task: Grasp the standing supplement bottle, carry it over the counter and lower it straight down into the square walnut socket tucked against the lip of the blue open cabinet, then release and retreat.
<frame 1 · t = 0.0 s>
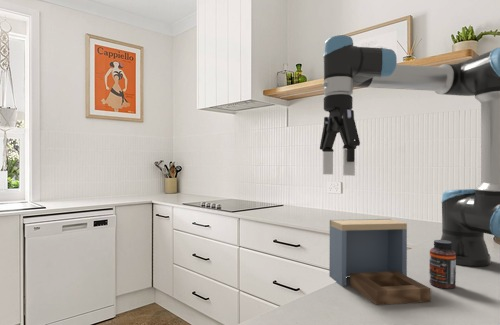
hand: (337, 175, 93), 28 cm above the countertop, fingers open, 13 cm apart
blue open cabinet: (367, 279, 93), on the countertop
supplement bottle: (442, 286, 89), on the countertop
socket: (387, 292, 83), on the countertop
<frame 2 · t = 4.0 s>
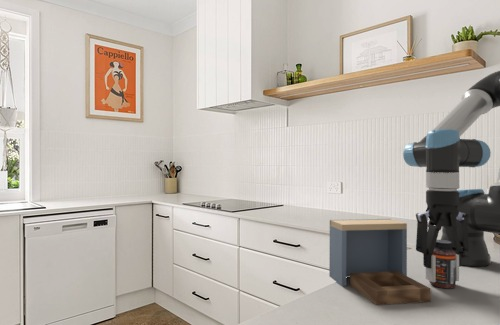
hand: (442, 279, 89), 1 cm above the countertop, fingers closed on supplement bottle, 6 cm apart
supplement bottle: (442, 286, 89), on the countertop, touching gripper
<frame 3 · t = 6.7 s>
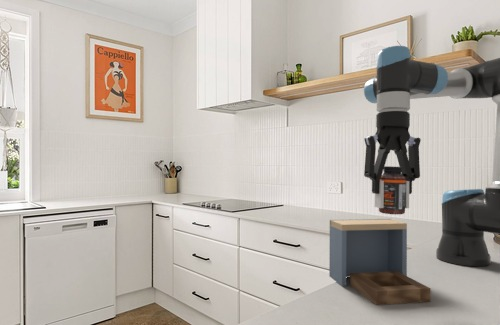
hand: (391, 207, 84), 20 cm above the countertop, fingers closed on supplement bottle, 6 cm apart
supplement bottle: (391, 214, 84), point 19 cm above the countertop, touching gripper
when the fingers open (4 cm above the countertop, at t = 9.7 s): supplement bottle drops 2 cm, resting in socket.
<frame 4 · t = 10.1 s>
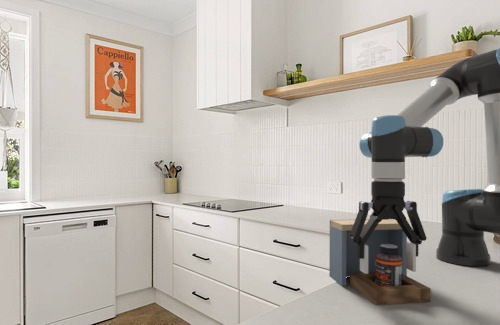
hand: (387, 271, 83), 5 cm above the countertop, fingers open, 11 cm apart
supplement bottle: (388, 293, 83), resting in socket
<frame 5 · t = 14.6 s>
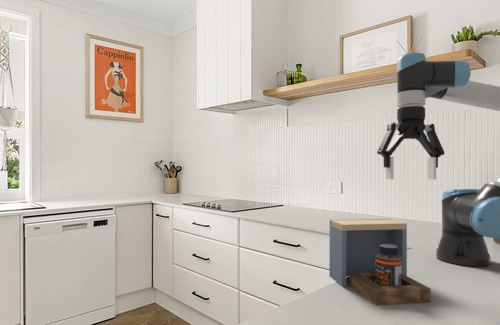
hand: (410, 179, 102), 27 cm above the countertop, fingers open, 13 cm apart
nothing on the countertop moved.
at the end: supplement bottle 0.1 cm off-centre on the socket, point 0.0 cm above the socket's base; supplement bottle tilted 0°; the gripper is holding nothing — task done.
